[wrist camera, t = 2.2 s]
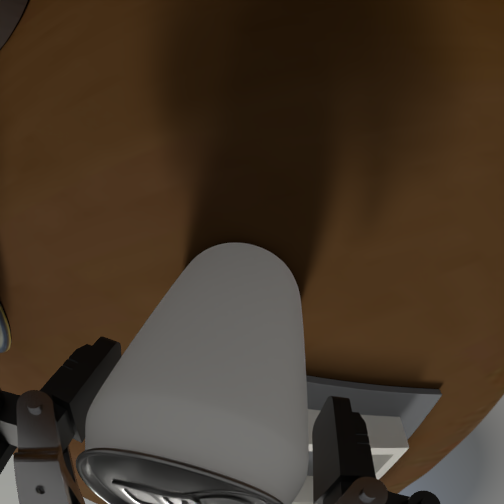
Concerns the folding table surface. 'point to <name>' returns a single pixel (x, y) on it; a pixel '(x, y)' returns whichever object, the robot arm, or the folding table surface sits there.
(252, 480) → the can
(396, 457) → the board
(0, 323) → the apothecary jar
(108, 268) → the folding table surface
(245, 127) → the folding table surface
